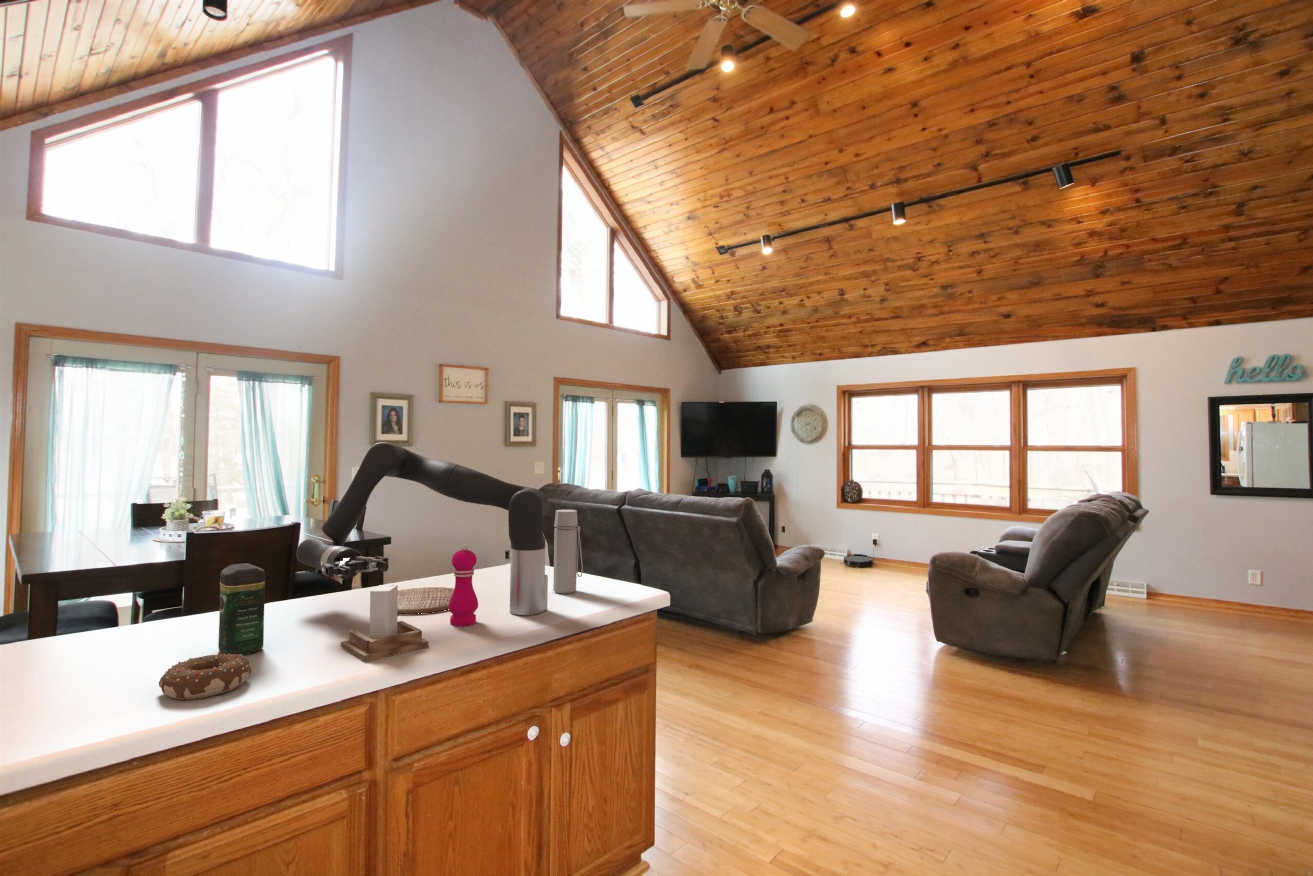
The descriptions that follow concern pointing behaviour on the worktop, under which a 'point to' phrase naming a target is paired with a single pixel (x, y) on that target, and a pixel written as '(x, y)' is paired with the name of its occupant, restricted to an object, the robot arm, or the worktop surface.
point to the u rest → (385, 643)
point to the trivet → (423, 600)
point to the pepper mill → (463, 589)
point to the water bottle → (566, 551)
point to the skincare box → (383, 611)
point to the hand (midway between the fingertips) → (368, 569)
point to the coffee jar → (241, 609)
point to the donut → (205, 676)
